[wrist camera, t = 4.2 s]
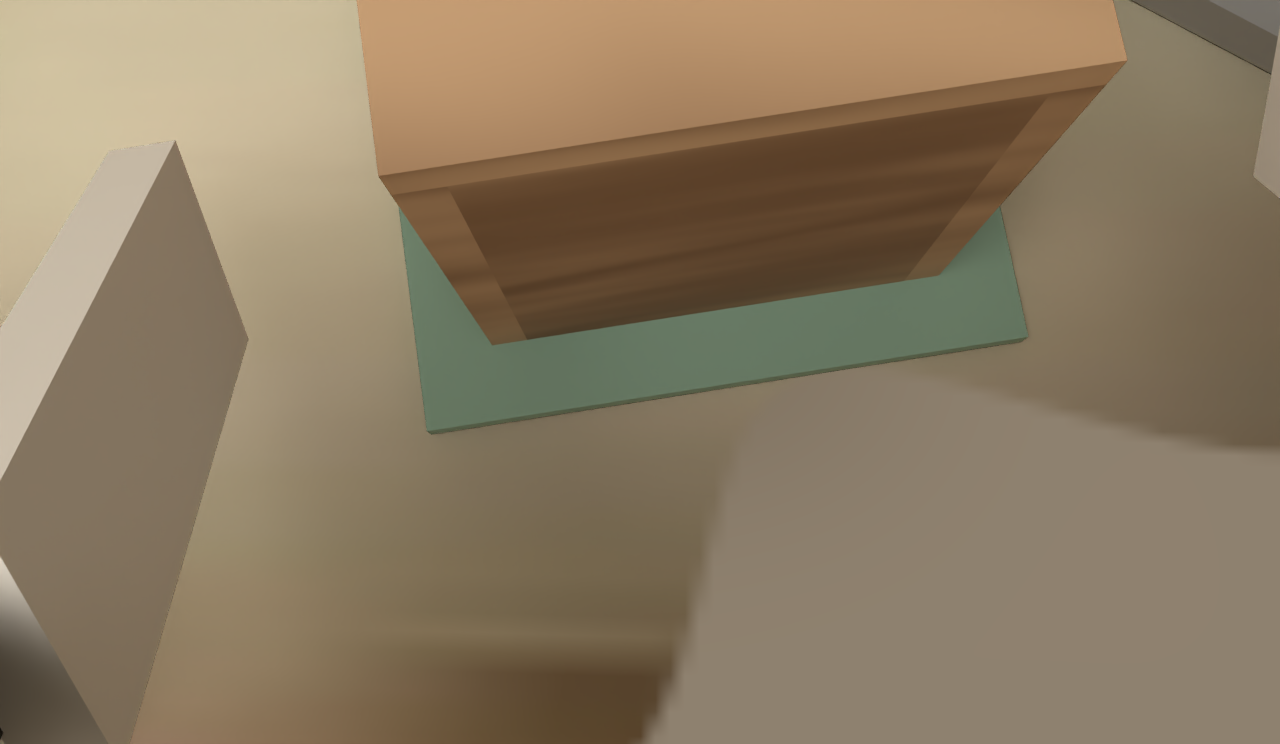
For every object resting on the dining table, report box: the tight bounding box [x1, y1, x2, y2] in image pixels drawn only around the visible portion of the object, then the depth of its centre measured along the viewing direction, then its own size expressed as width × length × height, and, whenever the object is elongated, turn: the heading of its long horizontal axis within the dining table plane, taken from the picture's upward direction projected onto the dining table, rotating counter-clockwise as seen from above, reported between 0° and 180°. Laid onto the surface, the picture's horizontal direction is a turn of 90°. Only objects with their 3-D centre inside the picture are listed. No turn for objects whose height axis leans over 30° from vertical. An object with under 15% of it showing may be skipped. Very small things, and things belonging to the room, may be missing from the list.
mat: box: [399, 206, 1028, 434], centre depth 25 cm, size 12×12×1 cm
